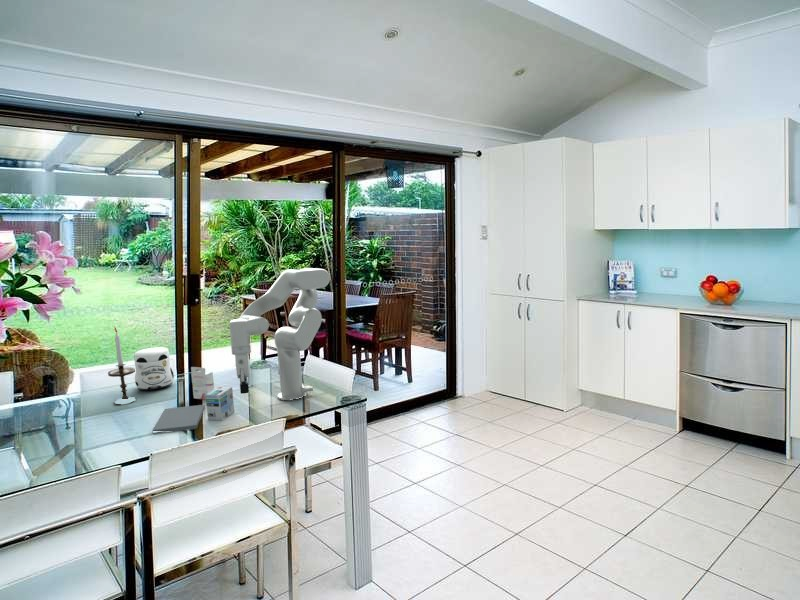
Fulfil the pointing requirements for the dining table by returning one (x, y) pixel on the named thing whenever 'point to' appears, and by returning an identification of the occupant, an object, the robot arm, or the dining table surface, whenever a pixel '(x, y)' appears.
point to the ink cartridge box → (201, 382)
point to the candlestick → (121, 367)
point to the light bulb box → (219, 403)
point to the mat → (180, 418)
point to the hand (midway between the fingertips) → (244, 392)
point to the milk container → (153, 368)
